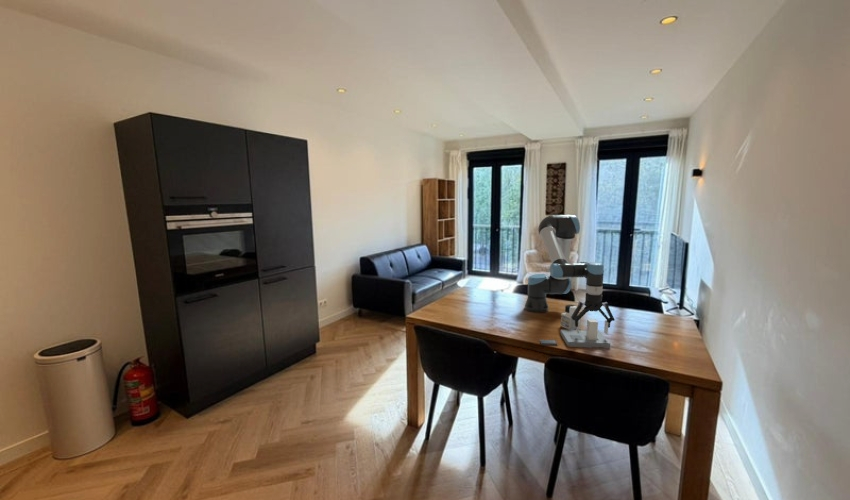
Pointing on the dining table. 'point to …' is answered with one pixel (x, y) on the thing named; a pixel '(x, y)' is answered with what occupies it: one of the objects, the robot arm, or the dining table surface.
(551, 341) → the phone
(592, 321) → the light grey rectangular block
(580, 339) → the outlet plate
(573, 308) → the container
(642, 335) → the dining table surface
